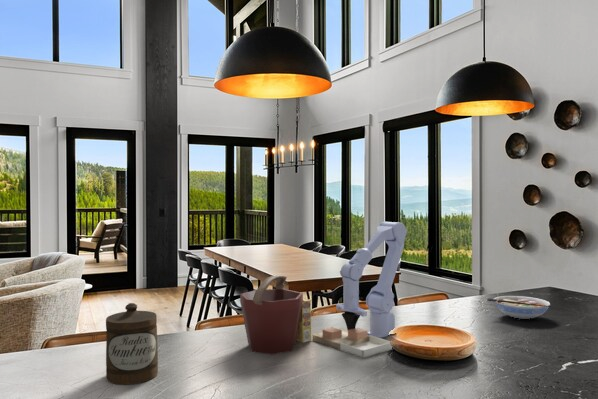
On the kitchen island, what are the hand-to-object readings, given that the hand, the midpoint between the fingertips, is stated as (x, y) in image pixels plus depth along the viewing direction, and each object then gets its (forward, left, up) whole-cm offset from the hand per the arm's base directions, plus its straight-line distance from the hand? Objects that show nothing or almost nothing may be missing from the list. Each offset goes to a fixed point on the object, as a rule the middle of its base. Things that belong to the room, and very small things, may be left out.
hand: (351, 332), depth 190 cm
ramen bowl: (-81, +22, -3) cm, 84 cm away
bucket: (+27, -12, -3) cm, 30 cm away
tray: (+3, +12, -3) cm, 12 cm away
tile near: (0, +4, -1) cm, 4 cm away
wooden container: (+77, -15, -3) cm, 78 cm away
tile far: (+7, -3, -1) cm, 8 cm away
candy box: (+14, -13, -3) cm, 19 cm away
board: (+3, -2, -3) cm, 5 cm away
